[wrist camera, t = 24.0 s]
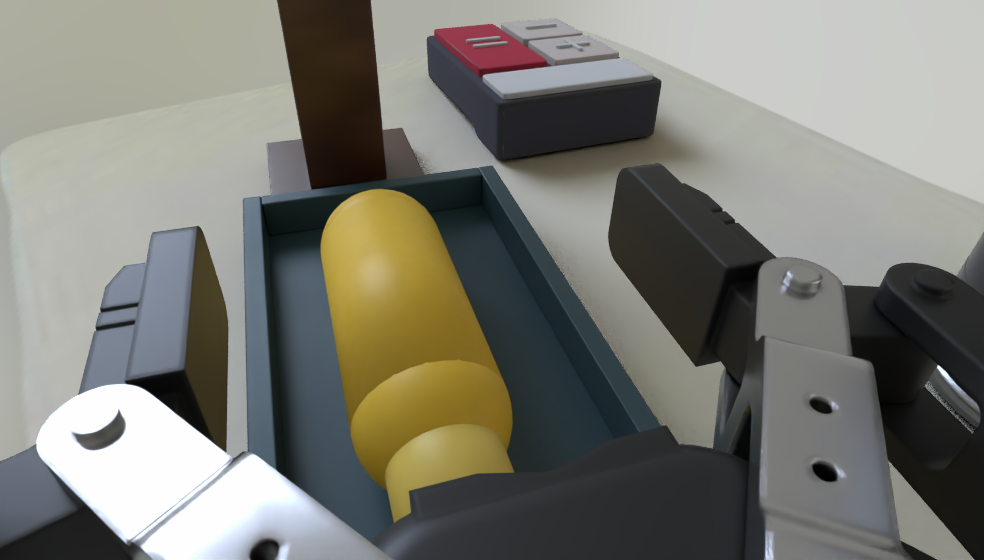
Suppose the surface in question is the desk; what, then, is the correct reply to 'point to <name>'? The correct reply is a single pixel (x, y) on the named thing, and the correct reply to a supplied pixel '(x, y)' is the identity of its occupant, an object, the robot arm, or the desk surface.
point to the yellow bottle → (410, 350)
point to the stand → (335, 102)
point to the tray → (497, 306)
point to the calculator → (541, 86)
